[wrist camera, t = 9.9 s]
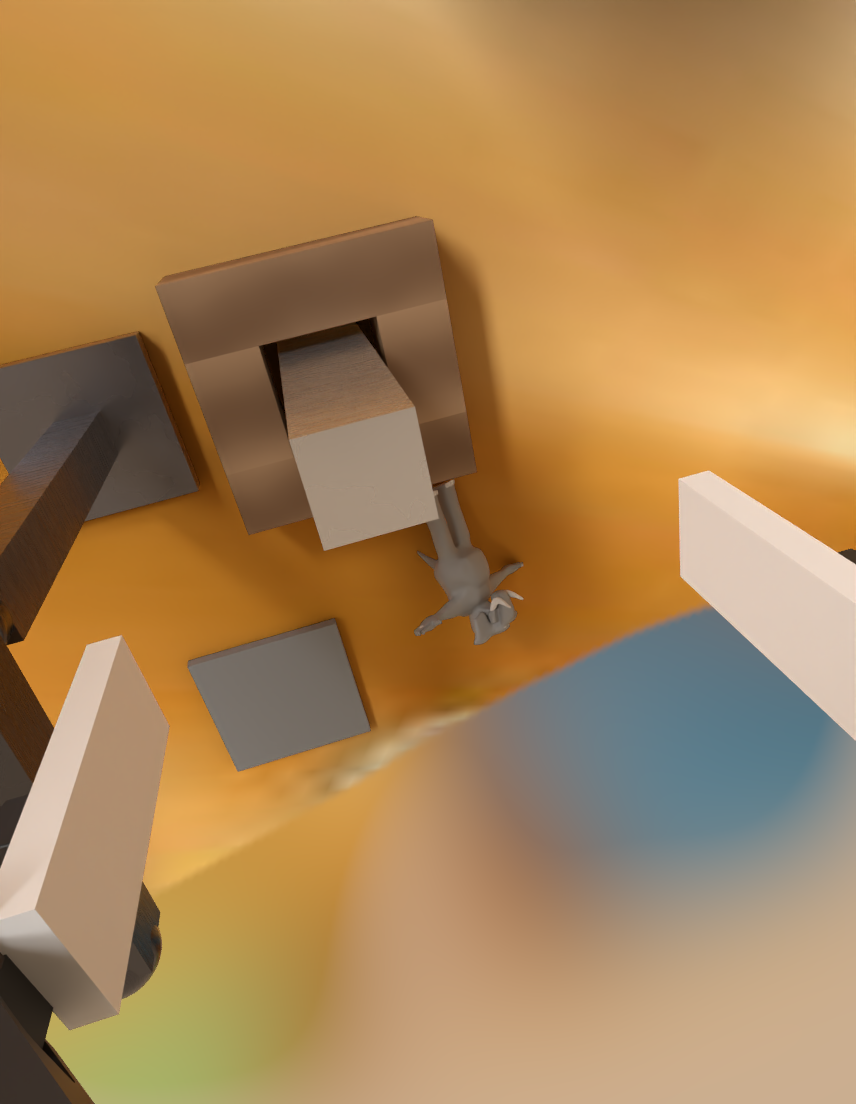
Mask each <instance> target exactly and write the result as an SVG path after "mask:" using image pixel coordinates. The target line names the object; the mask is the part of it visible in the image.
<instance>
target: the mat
mask: <svg viewBox="0 0 856 1104" xmlns="http://www.w3.org/2000/svg"><path fill="white" fill-rule="evenodd" d="M188 669H189V671H190V673H191V675H192V677H193V679H194V681H195V684H196V686H197V688H198V690H199V692H200V694H201V696H202V698H203V700H204V702H205V704H206V706H207V708H208V711H209V713H210V715H211V717H212V719H213V721H214V723H215V725H216V727H217V729H218V731H219V733H220V735H221V738H222V740H223V742H224V744H225V746H226V748H227V750H228V752H229V754H230V756H231V758H232V760H233V762H234V764H235V767H236V769H237V771H238V772H239V771H242V770H245V769H248V768H252V767H255V766H258V765H261V764H265V763H268V762H271V761H274V760H278V759H281V758H284V757H287V756H291V755H294V754H297V753H300V752H304V751H307V750H310V749H313V748H317V747H320V746H323V745H327V744H330V743H333V742H336V741H340V740H343V739H346V738H349V737H353V736H356V735H359V734H362V733H366V732H369V731H371V729H370V725H369V722H368V719H367V716H366V712H365V709H364V706H363V703H362V700H361V697H360V694H359V691H358V688H357V685H356V682H355V679H354V676H353V673H352V670H351V667H350V664H349V660H348V657H347V654H346V651H345V648H344V645H343V642H342V639H341V636H340V633H339V630H338V627H337V624H336V621H335V618H334V619H331V620H327V621H324V622H320V623H317V624H313V625H310V626H306V627H303V628H300V629H296V630H293V631H289V632H286V633H282V634H279V635H275V636H272V637H269V638H265V639H262V640H258V641H255V642H251V643H248V644H244V645H241V646H238V647H234V648H231V649H227V650H224V651H220V652H217V653H213V654H210V655H207V656H203V657H200V658H196V659H193V660H189V661H188Z"/></svg>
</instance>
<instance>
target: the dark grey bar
mask: <svg viewBox="0 0 856 1104" xmlns="http://www.w3.org/2000/svg"><path fill="white" fill-rule="evenodd" d="M12 631H13V619H12V615H11V613H10V611H9V609H8V608H7V606H6V605H5V604H4V603H3V601H1V600H0V808H1V806H2V805H3V804H4V803H5V801H7V800H10V799H14V798H17V797H20V796H24V795H27V794H29V793H30V790H31V788H32V785H33V783H34V780H35V777H36V775H37V772H38V770H39V767H40V765H41V762H42V759H43V757H44V754H45V752H46V749H47V746H48V744H49V741H50V739H51V736H52V734H53V731H54V727H53V725H52V724H51V722H50V720H49V719H48V717H47V715H46V713H45V712H44V710H43V708H42V706H41V705H40V703H39V701H38V699H37V698H36V696H35V694H34V692H33V691H32V689H31V687H30V686H29V684H28V682H27V680H26V679H25V677H24V675H23V673H22V672H21V670H20V668H19V666H18V665H17V663H16V661H15V660H14V658H13V656H12V654H11V653H10V651H9V649H8V647H7V646H6V644H7V642H8V640H9V639H10V637H11V634H12ZM159 917H160V911H159V909H158V908H157V906H156V904H155V902H154V901H153V899H152V897H151V895H150V894H149V892H148V890H147V888H146V887H145V885H144V883H143V882H142V886H141V892H140V897H139V903H138V909H137V914H136V920H135V926H134V931H133V937H132V943H131V948H130V954H129V960H128V965H127V971H126V977H125V983H124V988H123V994H122V999H123V998H126V997H128V996H130V995H132V994H133V993H135V992H136V991H138V990H139V989H140V988H141V987H143V986H144V985H145V983H146V982H147V981H148V980H149V979H150V977H151V976H152V974H153V973H154V971H155V969H156V967H157V965H158V962H159V959H160V955H161V950H162V940H161V934H160V930H159V928H158V925H159Z"/></svg>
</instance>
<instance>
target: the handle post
mask: <svg viewBox="0 0 856 1104" xmlns="http://www.w3.org/2000/svg"><path fill="white" fill-rule="evenodd" d="M0 458H1V460H2V462H3V464H4V465H5V467H6V469H7V471H8V473H9V475H8V476H7V478H6V479H5V480H4V481H3V482H2V484H1V485H0V600H1V601H3V603H4V604H5V605H6V606H7V608H8V609H9V611H10V613H11V615H12V619H13V631H12V634H11V637H10V639H9V640H8V642H7V644H6V645H9V644H13V643H17V642H20V641H24V639H25V637H26V635H27V633H28V631H29V629H30V627H31V625H32V623H33V621H34V619H35V618H36V616H37V614H38V612H39V610H40V608H41V606H42V604H43V602H44V600H45V598H46V596H47V594H48V592H49V590H50V588H51V586H52V584H53V582H54V580H55V578H56V576H57V574H58V572H59V570H60V568H61V566H62V564H63V562H64V560H65V559H66V557H67V555H68V553H69V551H70V549H71V547H72V545H73V543H74V541H75V539H76V537H77V535H78V533H79V531H80V529H81V527H82V525H83V523H84V521H88V520H92V519H95V518H99V517H103V516H106V515H110V514H114V513H118V512H121V511H125V510H129V509H133V508H136V507H140V506H144V505H147V504H151V503H155V502H159V501H162V500H166V499H170V498H174V497H177V496H181V495H185V494H189V493H192V492H196V491H199V485H200V483H199V480H198V478H197V475H196V473H195V470H194V468H193V465H192V463H191V460H190V458H189V455H188V453H187V450H186V448H185V445H184V443H183V440H182V438H181V435H180V433H179V430H178V428H177V425H176V423H175V420H174V418H173V415H172V413H171V410H170V408H169V405H168V403H167V400H166V398H165V395H164V393H163V390H162V388H161V385H160V383H159V380H158V378H157V375H156V373H155V370H154V368H153V365H152V363H151V360H150V358H149V355H148V353H147V350H146V348H145V345H144V343H143V340H142V338H141V335H140V333H139V331H137V332H133V333H129V334H125V335H120V336H116V337H112V338H108V339H104V340H100V341H96V342H92V343H88V344H84V345H80V346H76V347H71V348H67V349H63V350H59V351H55V352H51V353H47V354H43V355H39V356H35V357H31V358H27V359H22V360H18V361H14V362H10V363H6V364H2V365H0Z"/></svg>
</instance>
